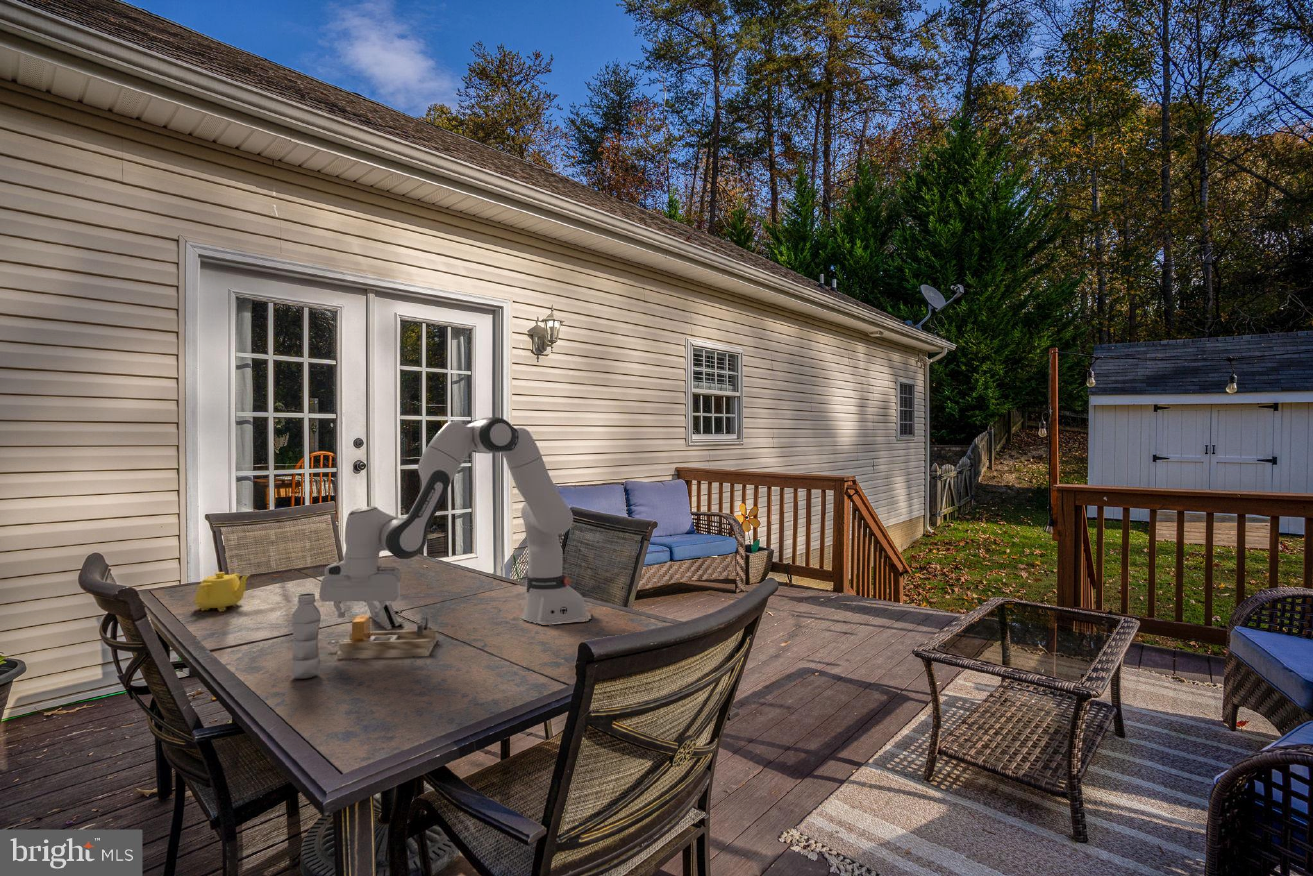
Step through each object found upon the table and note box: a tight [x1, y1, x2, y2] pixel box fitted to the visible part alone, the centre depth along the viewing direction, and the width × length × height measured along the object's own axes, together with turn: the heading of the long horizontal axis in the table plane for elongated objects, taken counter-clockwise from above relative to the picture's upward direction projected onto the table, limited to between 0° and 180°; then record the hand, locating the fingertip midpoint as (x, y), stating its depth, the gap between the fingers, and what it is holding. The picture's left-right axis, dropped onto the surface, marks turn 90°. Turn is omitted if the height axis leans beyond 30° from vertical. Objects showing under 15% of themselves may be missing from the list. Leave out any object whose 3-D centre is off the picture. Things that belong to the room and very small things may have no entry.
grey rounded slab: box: [365, 601, 405, 630], centre depth 201 cm, size 17×5×10 cm, turn 40°
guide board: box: [336, 629, 438, 660], centre depth 177 cm, size 23×14×4 cm, turn 100°
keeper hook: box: [416, 616, 430, 637], centre depth 181 cm, size 2×8×5 cm, turn 10°
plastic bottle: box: [289, 592, 322, 680], centre depth 156 cm, size 6×7×20 cm
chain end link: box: [326, 614, 398, 646], centre depth 176 cm, size 18×7×7 cm, turn 100°
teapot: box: [194, 571, 251, 611], centre depth 213 cm, size 14×14×12 cm
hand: (359, 617), depth 175 cm, fingers open, 8 cm apart
